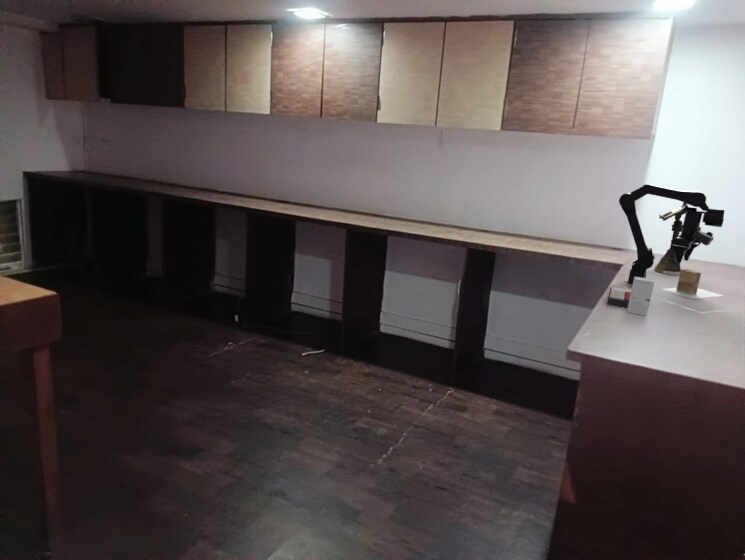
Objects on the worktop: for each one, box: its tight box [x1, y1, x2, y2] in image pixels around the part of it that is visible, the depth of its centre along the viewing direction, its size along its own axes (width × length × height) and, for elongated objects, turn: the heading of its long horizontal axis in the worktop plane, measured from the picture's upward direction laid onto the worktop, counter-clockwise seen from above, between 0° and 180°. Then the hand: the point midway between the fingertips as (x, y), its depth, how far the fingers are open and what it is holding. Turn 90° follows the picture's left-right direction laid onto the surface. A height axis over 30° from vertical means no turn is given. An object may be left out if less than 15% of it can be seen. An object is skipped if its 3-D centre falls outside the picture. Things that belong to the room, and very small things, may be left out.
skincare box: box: [626, 277, 655, 316], centre depth 195 cm, size 6×4×12 cm
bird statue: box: [654, 202, 688, 276], centre depth 265 cm, size 17×13×35 cm
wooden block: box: [676, 268, 702, 295], centre depth 228 cm, size 4×6×9 cm, turn 26°
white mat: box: [662, 287, 724, 300], centre depth 231 cm, size 20×14×1 cm
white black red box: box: [606, 286, 632, 309], centre depth 208 cm, size 11×4×15 cm
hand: (682, 261), depth 229 cm, fingers open, 9 cm apart
